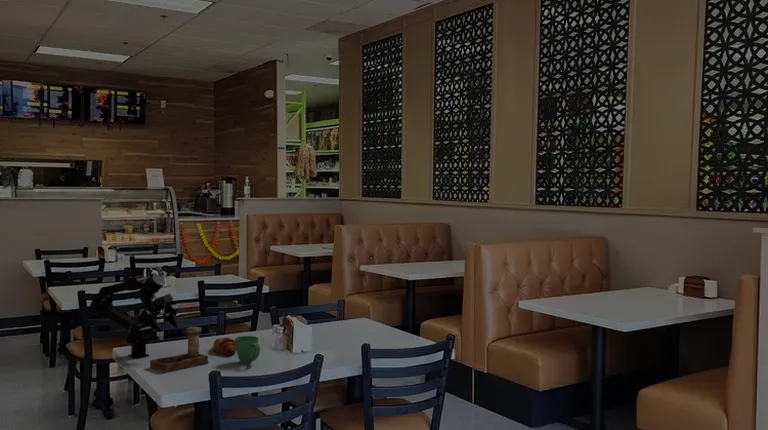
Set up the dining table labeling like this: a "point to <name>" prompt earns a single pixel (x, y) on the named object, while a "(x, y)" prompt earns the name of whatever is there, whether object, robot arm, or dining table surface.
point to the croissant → (224, 346)
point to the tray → (177, 362)
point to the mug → (247, 348)
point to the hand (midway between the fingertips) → (169, 329)
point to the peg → (193, 341)
